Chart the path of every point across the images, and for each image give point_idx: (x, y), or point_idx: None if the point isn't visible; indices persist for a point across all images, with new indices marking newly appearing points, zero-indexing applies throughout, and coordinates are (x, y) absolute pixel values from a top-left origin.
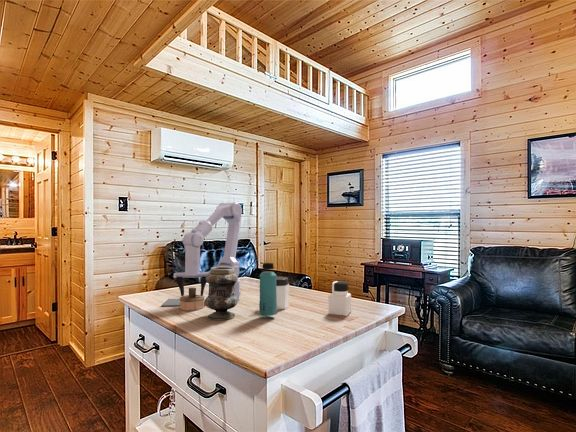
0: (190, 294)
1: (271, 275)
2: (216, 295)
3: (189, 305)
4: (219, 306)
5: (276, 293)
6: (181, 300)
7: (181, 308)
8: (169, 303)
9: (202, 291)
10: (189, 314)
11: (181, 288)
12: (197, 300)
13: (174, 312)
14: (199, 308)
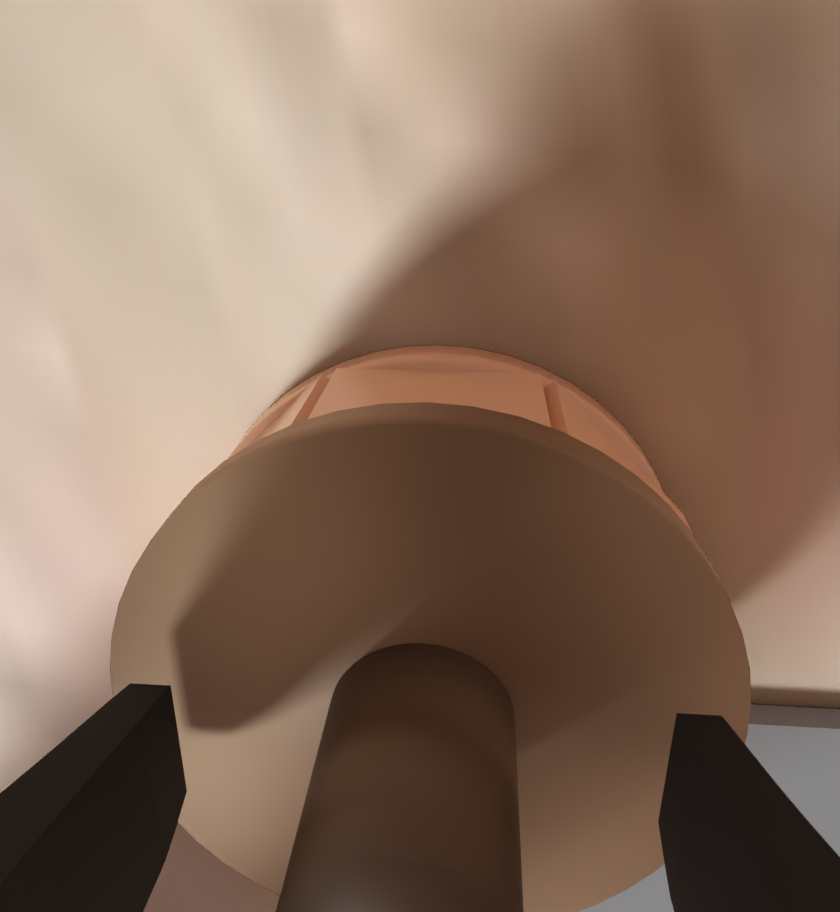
0: (451, 719)
1: None
2: None
3: (450, 393)
4: None
5: None
6: (684, 525)
7: (642, 456)
8: None
9: (49, 755)
10: (396, 12)
11: (807, 901)
12: (231, 465)
13: (777, 249)
14: (252, 428)
